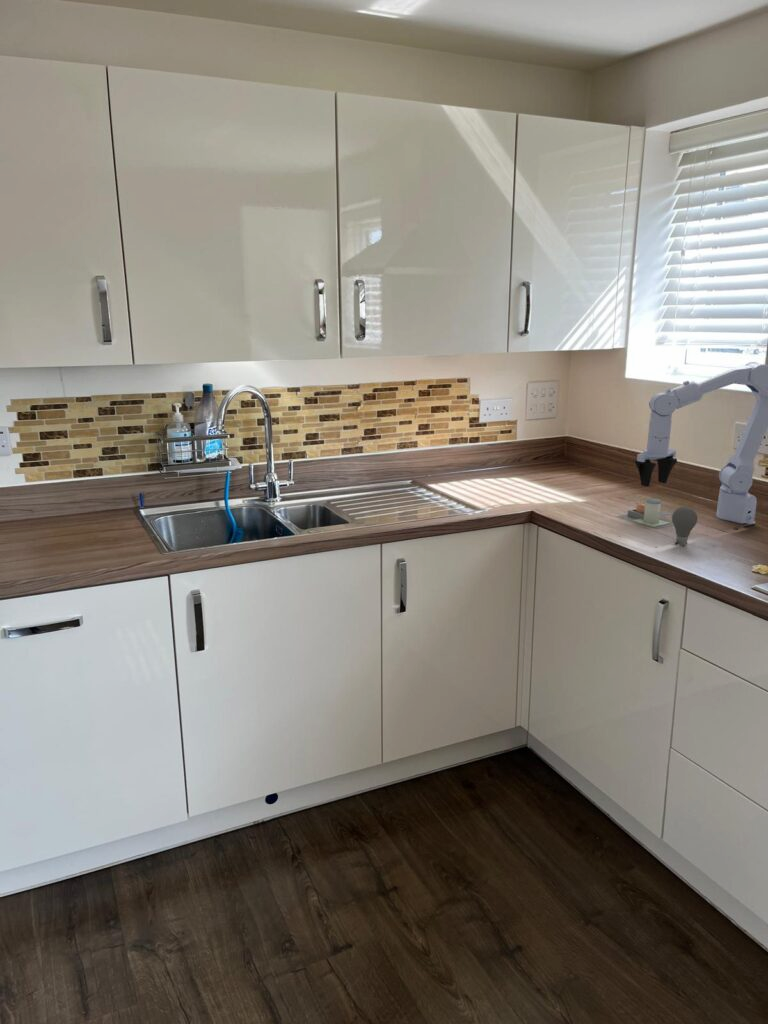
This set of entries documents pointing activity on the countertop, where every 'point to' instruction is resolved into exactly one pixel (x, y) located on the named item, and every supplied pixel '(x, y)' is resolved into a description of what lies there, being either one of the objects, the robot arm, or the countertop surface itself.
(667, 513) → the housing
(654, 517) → the cartridge
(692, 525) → the light bulb
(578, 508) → the countertop surface
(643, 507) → the orange round piece
